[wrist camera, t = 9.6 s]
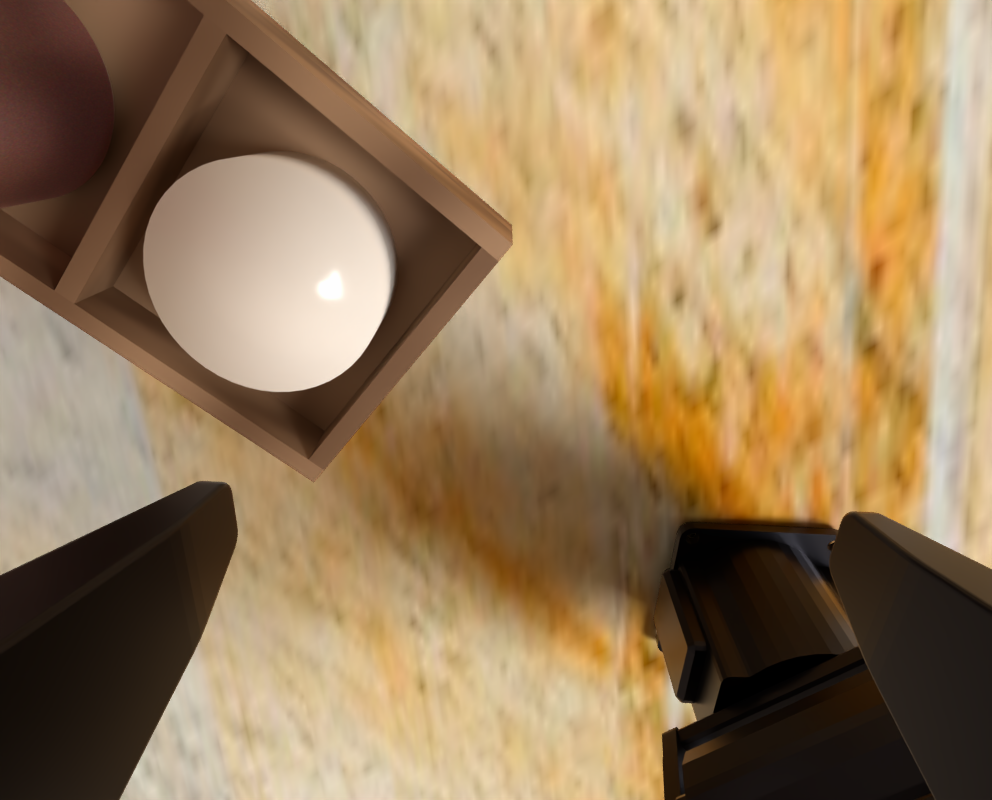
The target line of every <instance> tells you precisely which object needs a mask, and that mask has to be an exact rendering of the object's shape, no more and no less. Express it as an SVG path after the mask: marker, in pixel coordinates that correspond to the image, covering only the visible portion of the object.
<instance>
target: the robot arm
mask: <svg viewBox="0 0 992 800" xmlns="http://www.w3.org/2000/svg"><path fill="white" fill-rule="evenodd" d="M693 533H695V534H696V535H695V536H694V537H692V538H687V536H688V535H690V534H693ZM237 537H238V528H237V521H236V515H235V508H234V502H233V495H232V490H231V488H230V486H229V485H228V484H227V483H225V482H211V481H199V482H196V483H194V484H192V485H190V486H188V487H186V488H183V489H181V490H179V491H177V492H175V493H173V494H171V495H169V496H167V497H164V498H162V499H160V500H158V501H156V502H154V503H152V504H150V505H148V506H145V507H143V508H141V509H139V510H137V511H135V512H133V513H131V514H129V515H127V516H124V517H122V518H120V519H118V520H116V521H114V522H112V523H110V524H108V525H105V526H103V527H101V528H99V529H97V530H95V531H93V532H91V533H89V534H86V535H84V536H82V537H80V538H78V539H76V540H74V541H72V542H70V543H67V544H65V545H63V546H61V547H59V548H57V549H55V550H53V551H51V552H48V553H46V554H44V555H42V556H40V557H38V558H36V559H34V560H32V561H29V562H27V563H25V564H23V565H21V566H19V567H17V568H15V569H13V570H11V571H8V572H6V573H4V574H2V575H0V800H119V799H120V798H121V796H122V794H123V792H124V790H125V788H126V786H127V784H128V782H129V780H130V778H131V776H132V774H133V772H134V770H135V768H136V766H137V764H138V762H139V760H140V758H141V756H142V754H143V752H144V750H145V748H146V746H147V744H148V742H149V740H150V738H151V736H152V734H153V732H154V730H155V728H156V726H157V725H158V723H159V721H160V719H161V717H162V715H163V713H164V711H165V709H166V707H167V705H168V703H169V701H170V699H171V697H172V695H173V693H174V691H175V689H176V687H177V685H178V683H179V681H180V679H181V677H182V675H183V673H184V671H185V669H186V667H187V665H188V663H189V661H190V659H191V657H192V655H193V654H194V651H195V649H196V647H197V645H198V643H199V641H200V639H201V637H202V634H203V632H204V629H205V627H206V624H207V622H208V619H209V617H210V614H211V611H212V608H213V606H214V603H215V600H216V598H217V595H218V592H219V590H220V587H221V584H222V581H223V579H224V576H225V573H226V571H227V568H228V565H229V563H230V560H231V557H232V555H233V552H234V549H235V546H236V543H237ZM831 541H835V542H834V543H832V544H829V543H830V542H831ZM828 544H829V545H828ZM654 623H655V627H656V630H657V634H656V642H657V646H658V648H659V650H660V651H662V652H663V655H664V658H665V661H666V665H667V668H668V672H669V675H670V679H671V682H672V686H673V689H674V693H675V696H676V697H677V698H678V699H679V701H680V702H682V703H691V704H692V707H693V710H694V713H695V716H696V720H697V721H696V722H694V723H691V724H689V725H687V726H685V727H683V728H681V729H678V728H677V727H675V728H673V729H671V730H669V731H667V732H665V733H663V734H662V743H663V777H664V797H665V800H992V569H990V568H988V567H986V566H984V565H982V564H980V563H978V562H976V561H974V560H972V559H970V558H968V557H966V556H964V555H962V554H960V553H958V552H956V551H954V550H952V549H950V548H948V547H946V546H944V545H942V544H940V543H938V542H936V541H934V540H932V539H930V538H928V537H926V536H924V535H922V534H920V533H918V532H916V531H913V530H911V529H909V528H907V527H905V526H903V525H901V524H899V523H897V522H895V521H893V520H891V519H889V518H887V517H885V516H883V515H881V514H879V513H874V512H849V513H847V514H846V515H845V516H844V517H843V519H842V521H841V524H840V527H839V530H835V529H824V528H803V527H783V526H763V525H743V524H722V523H702V522H688V523H685V524H683V525H682V526H681V527H680V528H679V529H678V532H677V536H676V541H675V546H674V551H673V556H672V561H671V565H670V569H667V570H666V571H665V572H664V573H663V574H662V578H661V583H660V588H659V593H658V598H657V603H656V608H655V613H654Z"/></svg>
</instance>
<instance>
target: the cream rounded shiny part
mask: <svg viewBox="0 0 992 800" xmlns="http://www.w3.org/2000/svg"><path fill="white" fill-rule="evenodd" d="M143 265H144V273H145V280H146V283H147V287H148V291H149V295H150V297H151V300H152V302H153V305H154V308H155V309H156V311H157V313H158V315H159V317H160V319H161V321H162V323H163V324H164V326H165V327H166V328H167V330H168V331H169V333H170V334H171V336H172V337H173V338H174V339H175V340H176V342H177V343H178V344H179V345H180V346H181V347H182V348H183V349H184V350H185V351H186V352H187V353H188V354H189V355H190V356H191V357H192V358H193V359H195V360H196V361H197V362H199V363H200V364H201V365H203V366H204V367H205V368H207V369H208V370H210V371H212V372H213V373H215V374H217V375H218V376H220V377H222V378H225V379H227V380H229V381H231V382H233V383H236V384H239V385H242V386H245V387H248V388H253V389H257V390H262V391H271V392H292V391H299V390H305V389H309V388H313V387H316V386H319V385H321V384H324V383H326V382H328V381H330V380H332V379H334V378H336V377H337V376H339V375H341V374H342V373H343V372H344V371H346V370H347V369H348V368H349V367H351V366H352V365H353V364H354V363H355V362H356V361H357V359H358V358H359V357H360V356H361V355H362V353H363V352H364V351H365V349H366V348H367V346H368V345H369V343H370V341H371V340H372V338H373V336H374V335H375V333H376V331H377V330H378V328H379V326H380V324H381V323H382V321H383V319H384V318H385V316H386V314H387V312H388V310H389V308H390V306H391V304H392V301H393V298H394V295H395V291H396V286H397V281H398V256H397V250H396V245H395V240H394V237H393V234H392V231H391V228H390V226H389V224H388V222H387V220H386V217H385V215H384V213H383V212H382V210H381V209H380V207H379V206H378V204H377V202H376V201H375V200H374V198H373V197H372V196H371V195H370V194H369V192H368V191H367V190H366V189H365V188H364V187H363V186H362V185H361V184H360V183H359V182H358V181H357V180H356V179H354V178H353V177H352V176H350V175H349V174H348V173H346V172H345V171H344V170H342V169H341V168H339V167H337V166H335V165H333V164H332V163H330V162H328V161H325V160H323V159H320V158H318V157H315V156H312V155H308V154H304V153H300V152H292V151H269V152H262V153H256V154H251V155H245V156H239V157H233V158H227V159H222V160H217V161H214V162H210V163H207V164H204V165H202V166H200V167H198V168H196V169H194V170H192V171H190V172H188V173H187V174H185V175H184V176H183V177H181V178H180V179H178V180H177V181H176V182H175V183H174V184H173V185H172V186H171V187H170V188H169V189H168V190H167V191H166V192H165V193H164V195H163V196H162V198H161V199H160V200H159V202H158V203H157V205H156V207H155V209H154V211H153V213H152V215H151V217H150V220H149V223H148V226H147V230H146V234H145V240H144V246H143Z"/></svg>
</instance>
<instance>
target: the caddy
mask: <svg viewBox="0 0 992 800" xmlns="http://www.w3.org/2000/svg"><path fill="white" fill-rule="evenodd" d="M63 1H64V2H65V3H66V4H67V5H68V6H69V7H70V8H71V9H72V11H73V12H74V13H75V14H76V15H77V17H78V18H79V19H80V21H81V22H82V24H83V25H84V26H85V28H86V29H87V31H88V33H89V34H90V36H91V38H92V39H93V41H94V43H95V45H96V47H97V49H98V50H99V52H100V55H101V57H102V59H103V61H104V64H105V67H106V69H107V72H108V76H109V79H110V83H111V87H112V92H113V99H114V126H113V133H112V137H111V142H110V145H109V148H108V151H107V153H106V156H105V158H104V160H103V162H102V164H101V165H100V167H99V168H98V170H97V171H96V172H95V173H94V175H93V176H92V177H91V178H90V179H89V180H88V181H87V182H85V183H84V184H83V185H82V186H80V187H79V188H77V189H76V190H74V191H72V192H70V193H68V194H65V195H63V196H59V197H56V198H51V199H46V200H41V201H36V202H31V203H25V204H20V205H15V206H10V207H5V208H0V276H1V277H2V278H4V279H5V280H7V281H8V282H10V283H11V284H13V285H14V286H16V287H17V288H19V289H20V290H22V291H23V292H25V293H26V294H28V295H29V296H31V297H33V298H34V299H36V300H37V301H39V302H40V303H42V304H43V305H45V306H46V307H48V308H49V309H51V310H52V311H54V312H55V313H57V314H58V315H60V316H61V317H63V318H65V319H66V320H68V321H69V322H71V323H72V324H74V325H75V326H77V327H78V328H80V329H81V330H83V331H84V332H86V333H87V334H89V335H90V336H92V337H93V338H95V339H97V340H98V341H100V342H101V343H103V344H104V345H106V346H107V347H109V348H110V349H112V350H113V351H115V352H116V353H118V354H119V355H121V356H122V357H124V358H125V359H127V360H128V361H130V362H132V363H133V364H135V365H136V366H138V367H139V368H141V369H142V370H144V371H145V372H147V373H148V374H150V375H151V376H153V377H154V378H156V379H157V380H159V381H160V382H162V383H164V384H165V385H167V386H168V387H170V388H171V389H173V390H174V391H176V392H177V393H179V394H180V395H182V396H183V397H185V398H186V399H188V400H189V401H191V402H192V403H194V404H195V405H197V406H199V407H200V408H202V409H203V410H205V411H206V412H208V413H209V414H211V415H212V416H214V417H215V418H217V419H218V420H220V421H221V422H223V423H224V424H226V425H227V426H229V427H231V428H232V429H234V430H235V431H237V432H238V433H240V434H241V435H243V436H244V437H246V438H247V439H249V440H250V441H252V442H253V443H255V444H256V445H258V446H259V447H261V448H263V449H264V450H266V451H267V452H269V453H270V454H272V455H273V456H275V457H276V458H278V459H279V460H281V461H282V462H284V463H285V464H287V465H288V466H290V467H291V468H293V469H294V470H296V471H298V472H299V473H301V474H302V475H304V476H305V477H307V478H308V479H310V480H311V481H313V482H315V480H316V479H317V478H318V477H319V476H320V474H321V473H322V472H323V471H324V470H325V469H326V467H327V466H328V465H329V464H330V463H331V461H332V460H333V459H334V458H335V457H336V455H337V454H338V453H339V452H340V451H341V449H342V448H343V447H344V446H345V445H346V443H347V442H348V441H349V440H350V439H351V437H352V436H353V435H354V434H355V433H356V431H357V430H358V429H359V428H360V427H361V425H362V424H363V423H364V422H365V421H366V419H367V418H368V417H369V416H370V415H371V413H372V412H373V411H374V410H375V409H376V407H377V406H378V405H379V404H380V403H381V401H382V400H383V399H384V398H385V397H386V396H387V394H388V393H389V392H390V391H391V390H392V388H393V387H394V386H395V385H396V384H397V382H398V381H399V380H400V379H401V378H402V376H403V375H404V374H405V373H406V372H407V370H408V369H409V368H410V367H411V366H412V364H413V363H414V362H415V361H416V360H417V358H418V357H419V356H420V355H421V354H422V352H423V351H424V350H425V349H426V348H427V346H428V345H429V344H430V343H431V342H432V340H433V339H434V338H435V337H436V336H437V334H438V333H439V332H440V331H441V330H442V328H443V327H444V326H445V325H446V324H447V323H448V321H449V320H450V319H451V318H452V317H453V315H454V314H455V313H456V312H457V311H458V309H459V308H460V307H461V306H462V305H463V303H464V302H465V301H466V300H467V299H468V297H469V296H470V295H471V294H472V293H473V291H474V290H475V289H476V288H477V287H478V285H479V284H480V283H481V282H482V281H483V279H484V278H485V277H486V276H487V275H488V273H489V272H490V271H491V270H492V269H493V267H494V266H495V265H496V264H497V263H498V261H499V260H500V259H501V258H502V257H503V256H504V254H505V253H506V252H507V251H508V250H509V248H510V247H511V246H512V245H513V241H512V225H511V224H510V223H509V222H507V221H506V220H505V219H504V218H503V217H502V216H501V215H499V214H498V213H497V212H496V211H495V210H494V209H492V208H491V207H490V206H489V205H488V204H487V203H485V202H484V201H483V200H482V199H481V198H480V197H478V196H477V195H476V194H475V193H474V192H473V191H472V190H470V189H469V188H468V187H467V186H466V185H465V184H463V183H462V182H461V181H460V180H459V179H458V178H456V177H455V176H454V175H453V174H452V173H451V172H449V171H448V170H447V169H446V168H445V167H444V166H443V165H441V164H440V163H439V162H438V161H437V160H436V159H434V158H433V157H432V156H431V155H430V154H429V153H427V152H426V151H425V150H424V149H423V148H422V147H420V146H419V145H418V144H417V143H416V142H415V141H414V140H412V139H411V138H410V137H409V136H408V135H407V134H405V133H404V132H403V131H402V130H401V129H400V128H398V127H397V126H396V125H395V124H394V123H393V122H391V121H390V120H389V119H388V118H387V117H386V116H385V115H383V114H382V113H381V112H380V111H379V110H378V109H376V108H375V107H374V106H373V105H372V104H371V103H369V102H368V101H367V100H366V99H365V98H364V97H362V96H361V95H360V94H359V93H358V92H357V91H356V90H354V89H353V88H352V87H351V86H350V85H349V84H347V83H346V82H345V81H344V80H343V79H342V78H340V77H339V76H338V75H337V74H336V73H335V72H333V71H332V70H331V69H330V68H329V67H328V66H327V65H325V64H324V63H323V62H322V61H321V60H320V59H318V58H317V57H316V56H315V55H314V54H313V53H311V52H310V51H309V50H308V49H307V48H306V47H304V46H303V45H302V44H301V43H300V42H299V41H298V40H296V39H295V38H294V37H293V36H292V35H291V34H289V33H288V32H287V31H286V30H285V29H284V28H282V27H281V26H280V25H279V24H278V23H277V22H275V21H274V20H273V19H272V18H271V17H270V16H269V15H267V14H266V13H265V12H264V11H263V10H262V9H260V8H259V7H258V6H257V5H256V4H255V3H253V2H252V1H251V0H63ZM269 151H292V152H300V153H304V154H308V155H312V156H315V157H318V158H320V159H323V160H325V161H328V162H330V163H332V164H333V165H335V166H337V167H339V168H341V169H342V170H344V171H345V172H346V173H348V174H349V175H350V176H352V177H353V178H354V179H356V180H357V181H358V182H359V183H360V184H361V185H362V186H363V187H364V188H365V189H366V190H367V191H368V192H369V194H370V195H371V196H372V197H373V198H374V200H375V201H376V202H377V204H378V206H379V207H380V209H381V210H382V212H383V213H384V215H385V217H386V220H387V222H388V224H389V226H390V228H391V231H392V234H393V237H394V240H395V245H396V250H397V256H398V281H397V286H396V291H395V295H394V298H393V301H392V304H391V306H390V308H389V310H388V312H387V314H386V316H385V318H384V319H383V321H382V323H381V324H380V326H379V328H378V330H377V331H376V333H375V335H374V336H373V338H372V340H371V341H370V343H369V345H368V346H367V348H366V349H365V351H364V352H363V353H362V355H361V356H360V357H359V358H358V359H357V361H356V362H355V363H354V364H353V365H352V366H351V367H349V368H348V369H347V370H346V371H344V372H343V373H342V374H341V375H339V376H337V377H336V378H334V379H332V380H330V381H328V382H326V383H324V384H321V385H319V386H316V387H313V388H309V389H305V390H299V391H292V392H271V391H262V390H257V389H253V388H248V387H245V386H242V385H239V384H236V383H233V382H231V381H229V380H227V379H225V378H222V377H220V376H218V375H217V374H215V373H213V372H212V371H210V370H208V369H207V368H205V367H204V366H203V365H201V364H200V363H199V362H197V361H196V360H195V359H193V358H192V357H191V356H190V355H189V354H188V353H187V352H186V351H185V350H184V349H183V348H182V347H181V346H180V345H179V344H178V343H177V342H176V340H175V339H174V338H173V337H172V336H171V334H170V333H169V331H168V330H167V328H166V327H165V326H164V324H163V323H162V321H161V319H160V317H159V315H158V313H157V311H156V309H155V308H154V305H153V302H152V300H151V297H150V295H149V291H148V287H147V283H146V280H145V273H144V265H143V246H144V240H145V234H146V230H147V226H148V223H149V220H150V217H151V215H152V213H153V211H154V209H155V207H156V205H157V203H158V202H159V200H160V199H161V198H162V196H163V195H164V193H165V192H166V191H167V190H168V189H169V188H170V187H171V186H172V185H173V184H174V183H175V182H176V181H177V180H178V179H180V178H181V177H183V176H184V175H185V174H187V173H188V172H190V171H192V170H194V169H196V168H198V167H200V166H202V165H204V164H207V163H210V162H214V161H217V160H222V159H227V158H233V157H239V156H245V155H251V154H256V153H262V152H269Z"/></svg>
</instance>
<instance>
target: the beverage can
mask: <svg viewBox="0 0 992 800" xmlns="http://www.w3.org/2000/svg"><path fill="white" fill-rule="evenodd" d="M113 126H114V99H113V92H112V87H111V83H110V79H109V76H108V72H107V69H106V67H105V64H104V61H103V59H102V57H101V55H100V52H99V50H98V49H97V47H96V45H95V43H94V41H93V39H92V38H91V36H90V34H89V33H88V31H87V29H86V28H85V26H84V25H83V24H82V22H81V21H80V19H79V18H78V17H77V15H76V14H75V13H74V12H73V11H72V9H71V8H70V7H69V6H68V5H67V4H66V3H65V2H64V1H63V0H0V208H5V207H10V206H15V205H20V204H25V203H31V202H36V201H41V200H46V199H51V198H56V197H59V196H63V195H65V194H68V193H70V192H72V191H74V190H76V189H77V188H79V187H80V186H82V185H83V184H84V183H85V182H87V181H88V180H89V179H90V178H91V177H92V176H93V175H94V173H95V172H96V171H97V170H98V168H99V167H100V165H101V164H102V162H103V160H104V158H105V156H106V153H107V151H108V148H109V145H110V142H111V137H112V133H113Z"/></svg>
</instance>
